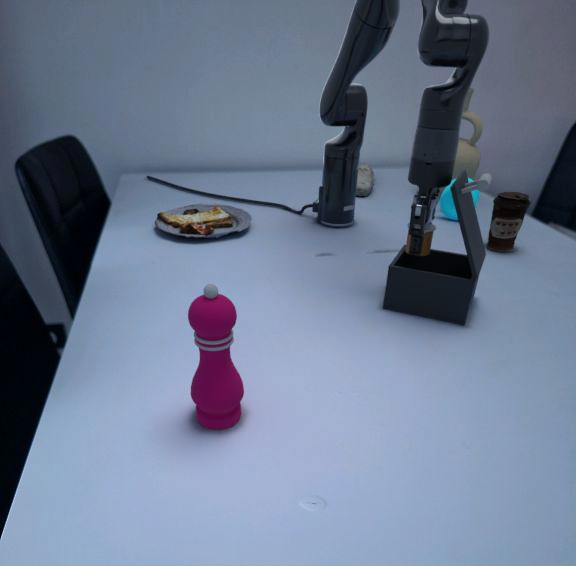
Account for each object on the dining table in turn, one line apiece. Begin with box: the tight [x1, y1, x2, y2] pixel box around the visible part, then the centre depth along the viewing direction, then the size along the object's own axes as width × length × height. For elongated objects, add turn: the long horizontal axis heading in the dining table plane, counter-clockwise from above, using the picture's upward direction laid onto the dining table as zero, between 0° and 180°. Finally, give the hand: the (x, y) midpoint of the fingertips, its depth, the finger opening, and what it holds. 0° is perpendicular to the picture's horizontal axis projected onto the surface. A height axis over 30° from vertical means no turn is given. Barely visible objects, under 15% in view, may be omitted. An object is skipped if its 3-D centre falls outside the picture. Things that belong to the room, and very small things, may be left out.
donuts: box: [438, 178, 481, 221], centre depth 150 cm, size 10×10×10 cm
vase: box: [439, 87, 484, 197], centre depth 162 cm, size 17×17×30 cm
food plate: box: [154, 203, 253, 239], centre depth 139 cm, size 25×23×4 cm
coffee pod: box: [405, 222, 437, 256], centre depth 100 cm, size 5×5×5 cm
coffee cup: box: [486, 191, 532, 253], centre depth 128 cm, size 9×8×13 cm
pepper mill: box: [187, 283, 245, 430], centre depth 69 cm, size 7×7×20 cm
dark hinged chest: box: [382, 244, 480, 326], centre depth 103 cm, size 16×13×9 cm
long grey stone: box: [356, 161, 375, 197], centre depth 179 cm, size 35×5×10 cm
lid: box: [450, 170, 493, 280], centre depth 94 cm, size 16×13×5 cm
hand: (417, 249), depth 101 cm, fingers closed on coffee pod, 4 cm apart
